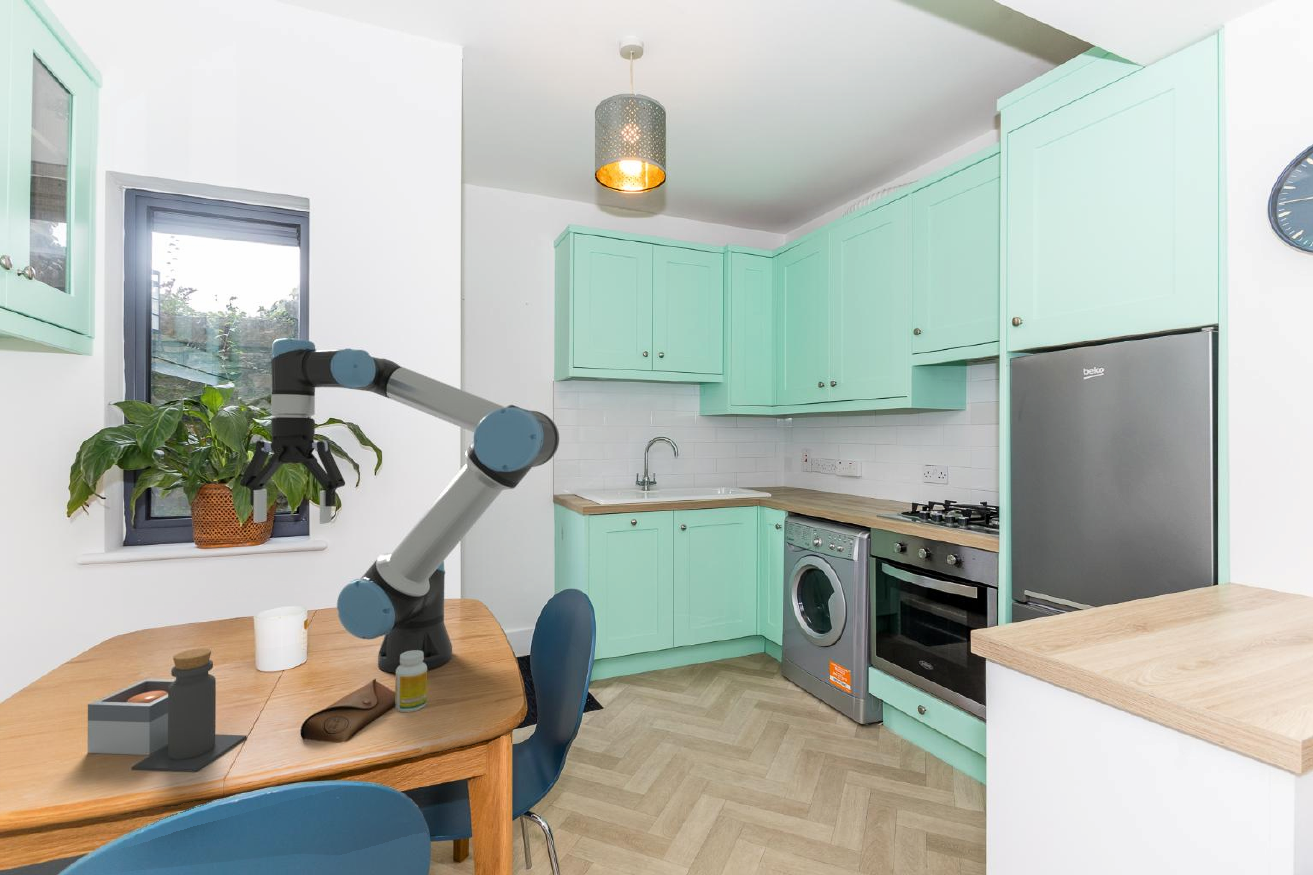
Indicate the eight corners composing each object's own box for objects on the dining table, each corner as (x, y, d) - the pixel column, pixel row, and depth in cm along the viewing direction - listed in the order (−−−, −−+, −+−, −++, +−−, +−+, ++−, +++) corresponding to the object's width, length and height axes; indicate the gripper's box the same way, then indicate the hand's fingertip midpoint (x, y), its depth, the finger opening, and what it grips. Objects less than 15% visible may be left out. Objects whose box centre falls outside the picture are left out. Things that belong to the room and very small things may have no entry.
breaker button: (175, 727, 100) (175, 691, 100) (148, 742, 95) (148, 704, 95) (146, 726, 101) (146, 690, 101) (118, 741, 96) (118, 703, 96)
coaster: (246, 737, 98) (246, 735, 98) (196, 771, 88) (196, 768, 88) (187, 735, 99) (187, 733, 99) (131, 769, 89) (131, 766, 89)
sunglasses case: (345, 744, 96) (327, 706, 97) (312, 762, 97) (294, 725, 98) (411, 697, 114) (396, 665, 115) (383, 713, 115) (367, 681, 116)
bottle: (189, 762, 90) (190, 661, 90) (157, 757, 91) (158, 658, 91) (224, 742, 96) (225, 648, 96) (194, 738, 97) (194, 645, 97)
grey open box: (201, 724, 103) (202, 680, 103) (149, 754, 93) (149, 706, 93) (145, 722, 103) (145, 678, 103) (87, 752, 93) (87, 704, 93)
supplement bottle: (389, 707, 109) (389, 654, 109) (415, 697, 114) (415, 646, 114) (406, 715, 106) (407, 661, 106) (433, 704, 111) (433, 652, 111)
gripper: (363, 417, 125) (363, 520, 125) (247, 417, 126) (246, 519, 126) (342, 416, 117) (342, 525, 117) (219, 416, 118) (218, 524, 118)
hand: (292, 522), depth 121 cm, fingers open, 13 cm apart
